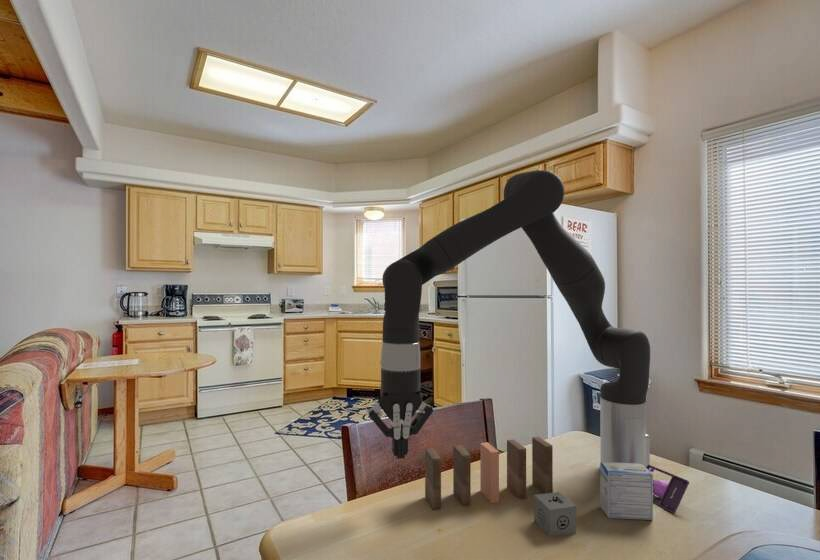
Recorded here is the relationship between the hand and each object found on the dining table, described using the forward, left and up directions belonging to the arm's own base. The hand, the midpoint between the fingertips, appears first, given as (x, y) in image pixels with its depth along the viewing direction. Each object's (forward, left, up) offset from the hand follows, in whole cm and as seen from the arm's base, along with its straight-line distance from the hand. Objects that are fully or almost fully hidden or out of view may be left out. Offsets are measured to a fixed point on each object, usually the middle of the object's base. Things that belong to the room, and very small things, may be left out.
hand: (399, 456), depth 78 cm
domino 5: (-31, 0, -10) cm, 32 cm away
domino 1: (-7, 0, -10) cm, 12 cm away
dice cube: (-25, +13, -10) cm, 30 cm away
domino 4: (-25, 0, -10) cm, 27 cm away
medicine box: (-41, +12, -10) cm, 44 cm away
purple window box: (-53, +14, -8) cm, 55 cm away
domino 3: (-19, 0, -10) cm, 21 cm away
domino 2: (-13, 0, -10) cm, 16 cm away
